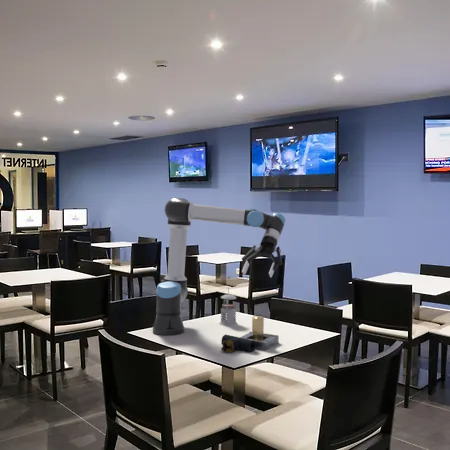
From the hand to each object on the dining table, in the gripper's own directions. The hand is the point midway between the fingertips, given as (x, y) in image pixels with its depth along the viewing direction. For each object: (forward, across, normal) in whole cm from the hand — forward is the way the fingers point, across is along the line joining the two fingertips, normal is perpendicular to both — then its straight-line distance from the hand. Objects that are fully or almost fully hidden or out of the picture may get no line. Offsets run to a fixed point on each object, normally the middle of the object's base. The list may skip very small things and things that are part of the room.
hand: (256, 274), depth 235 cm
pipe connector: (+37, 0, -6) cm, 37 cm away
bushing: (+27, -5, -15) cm, 31 cm away
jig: (+27, -5, -15) cm, 31 cm away
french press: (+6, +26, -36) cm, 45 cm away
